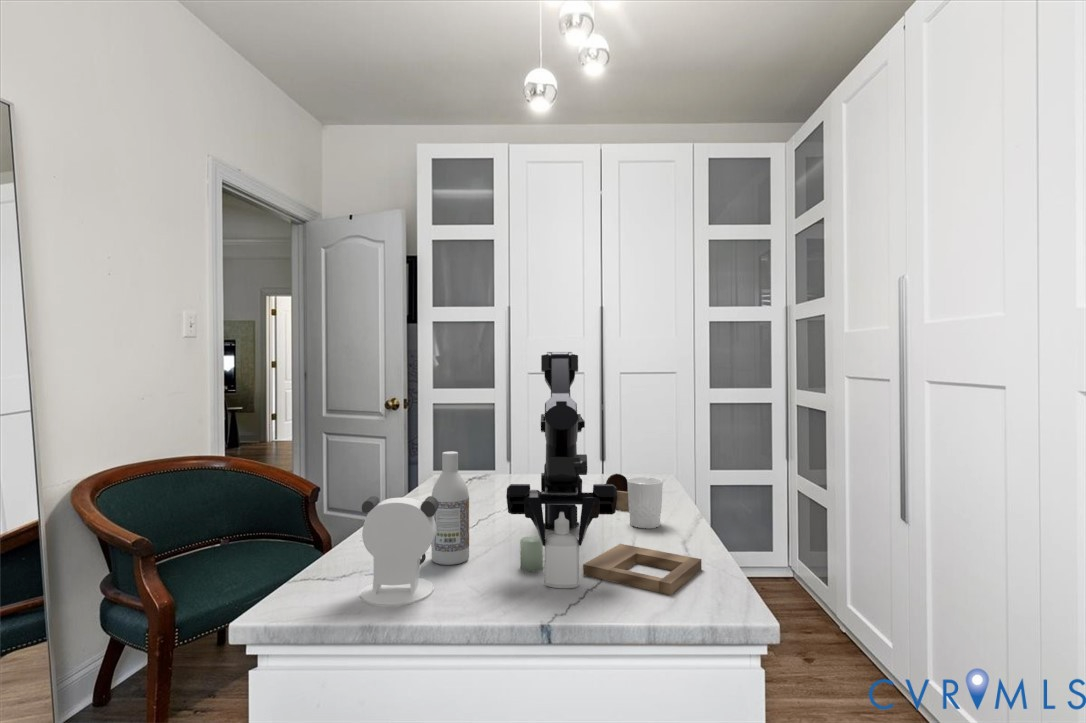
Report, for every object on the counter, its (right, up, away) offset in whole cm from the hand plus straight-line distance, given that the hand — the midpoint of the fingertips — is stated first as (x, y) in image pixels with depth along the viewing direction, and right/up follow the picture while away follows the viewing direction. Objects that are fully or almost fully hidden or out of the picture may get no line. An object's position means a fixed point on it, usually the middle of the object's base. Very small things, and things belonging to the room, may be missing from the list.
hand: (562, 544), depth 97 cm
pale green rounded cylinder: (-5, -7, +10) cm, 13 cm away
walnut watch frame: (+17, -7, +56) cm, 59 cm away
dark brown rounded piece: (+18, -7, +56) cm, 60 cm away
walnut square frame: (+14, -7, +7) cm, 18 cm away
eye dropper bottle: (0, -7, +1) cm, 7 cm away
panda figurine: (-26, -7, -1) cm, 27 cm away
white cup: (+20, -7, +38) cm, 43 cm away
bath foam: (-20, -7, +14) cm, 26 cm away
